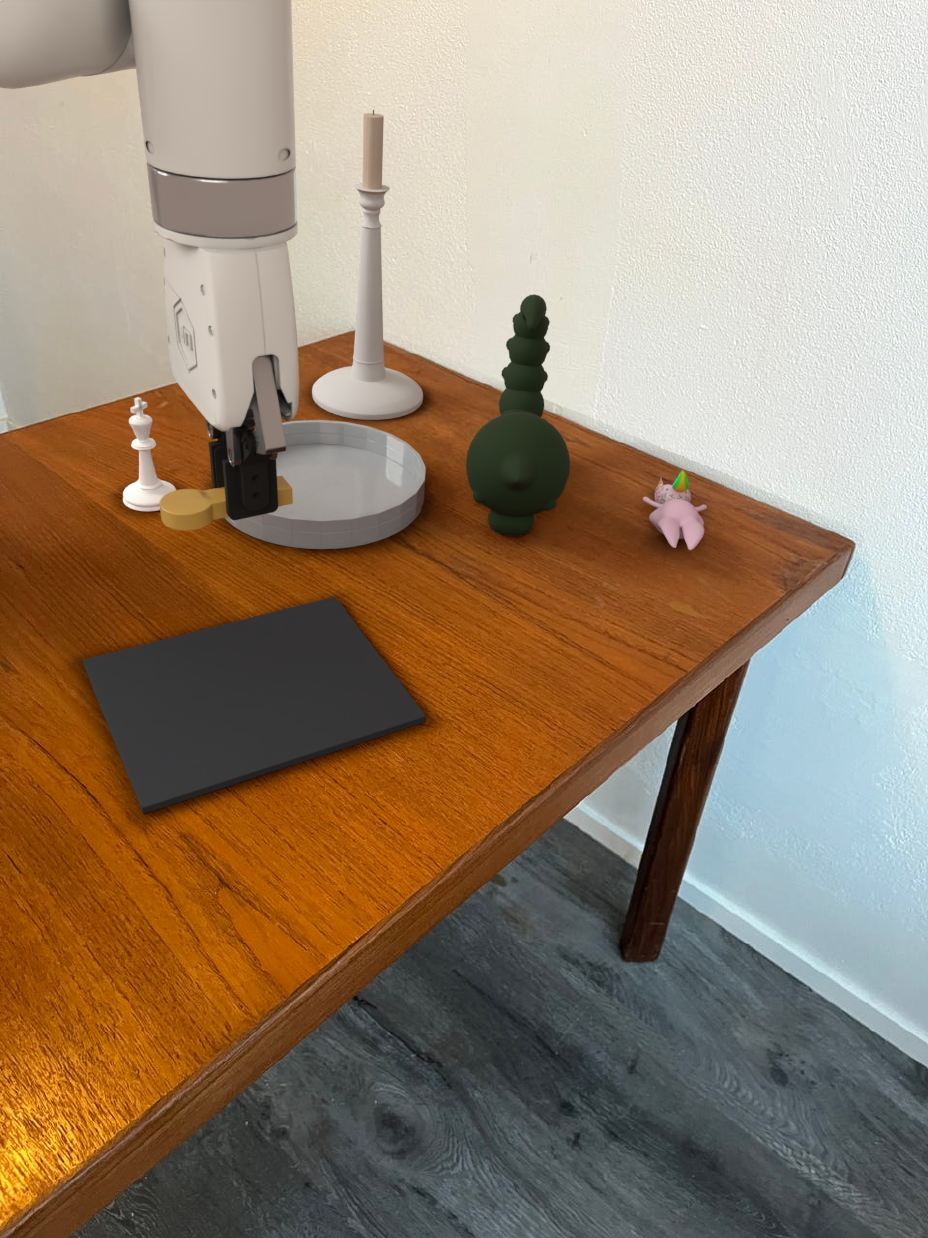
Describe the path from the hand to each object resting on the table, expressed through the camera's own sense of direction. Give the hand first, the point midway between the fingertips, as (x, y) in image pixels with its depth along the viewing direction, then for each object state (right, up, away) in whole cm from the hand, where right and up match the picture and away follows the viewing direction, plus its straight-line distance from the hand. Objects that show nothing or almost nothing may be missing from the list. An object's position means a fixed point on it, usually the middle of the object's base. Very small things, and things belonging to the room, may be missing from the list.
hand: (245, 502), depth 62 cm
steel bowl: (0, +5, +32) cm, 32 cm away
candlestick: (+3, +18, +51) cm, 55 cm away
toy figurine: (+19, +4, +34) cm, 39 cm away
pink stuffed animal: (+34, +1, +32) cm, 46 cm away
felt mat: (-1, -13, +8) cm, 15 cm away
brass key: (-1, 0, 0) cm, 1 cm away
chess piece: (-15, +4, +29) cm, 33 cm away
